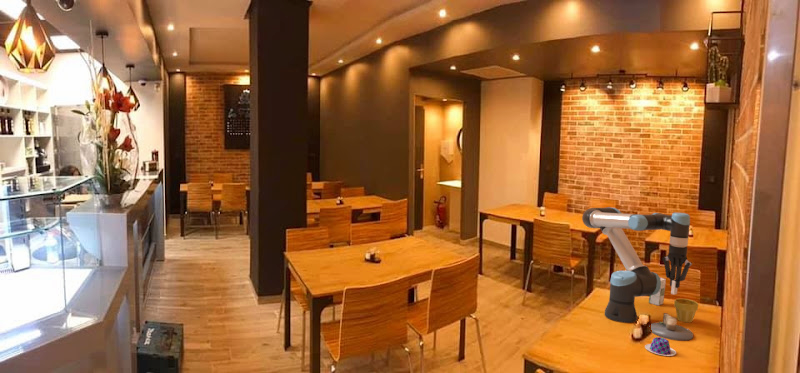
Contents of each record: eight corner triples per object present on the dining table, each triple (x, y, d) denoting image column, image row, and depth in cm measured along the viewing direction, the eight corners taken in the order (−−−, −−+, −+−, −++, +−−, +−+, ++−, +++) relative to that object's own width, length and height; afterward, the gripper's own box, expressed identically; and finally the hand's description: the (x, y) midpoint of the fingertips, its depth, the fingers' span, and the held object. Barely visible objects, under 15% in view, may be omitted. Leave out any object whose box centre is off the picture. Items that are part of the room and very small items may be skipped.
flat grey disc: (662, 340, 221) (662, 336, 221) (642, 325, 239) (642, 321, 239) (701, 341, 221) (701, 336, 221) (678, 325, 239) (678, 321, 239)
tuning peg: (677, 330, 228) (678, 320, 227) (668, 329, 228) (669, 319, 228) (669, 323, 237) (669, 313, 237) (660, 322, 238) (661, 312, 237)
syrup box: (652, 301, 276) (654, 276, 275) (663, 304, 272) (666, 278, 270) (648, 303, 273) (650, 277, 271) (659, 306, 268) (661, 280, 267)
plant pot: (676, 322, 243) (678, 303, 243) (670, 315, 253) (671, 297, 253) (699, 325, 241) (701, 306, 240) (692, 317, 251) (694, 299, 250)
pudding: (645, 343, 218) (646, 331, 217) (676, 349, 212) (677, 337, 212) (643, 353, 208) (644, 341, 207) (676, 360, 202) (677, 347, 201)
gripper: (696, 247, 228) (691, 296, 231) (668, 242, 239) (664, 288, 241) (689, 249, 224) (684, 298, 226) (660, 243, 234) (656, 291, 237)
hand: (673, 293), depth 234 cm, fingers closed
